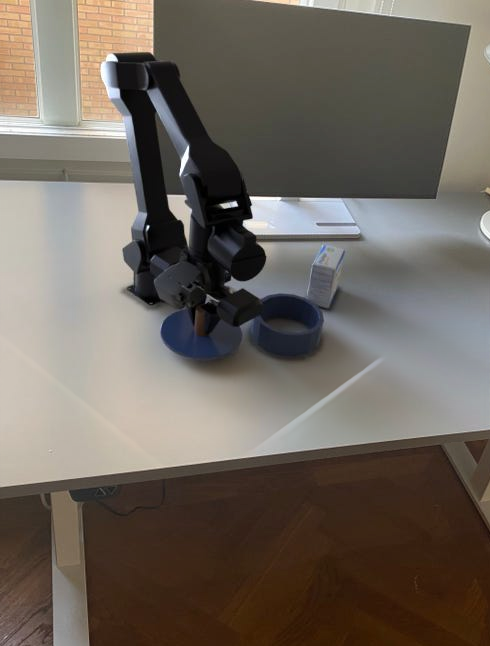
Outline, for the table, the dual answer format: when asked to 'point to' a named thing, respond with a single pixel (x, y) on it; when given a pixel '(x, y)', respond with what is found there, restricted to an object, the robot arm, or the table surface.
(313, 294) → the medicine box
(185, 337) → the cover
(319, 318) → the dark blue round container
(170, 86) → the robot arm
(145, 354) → the table surface
